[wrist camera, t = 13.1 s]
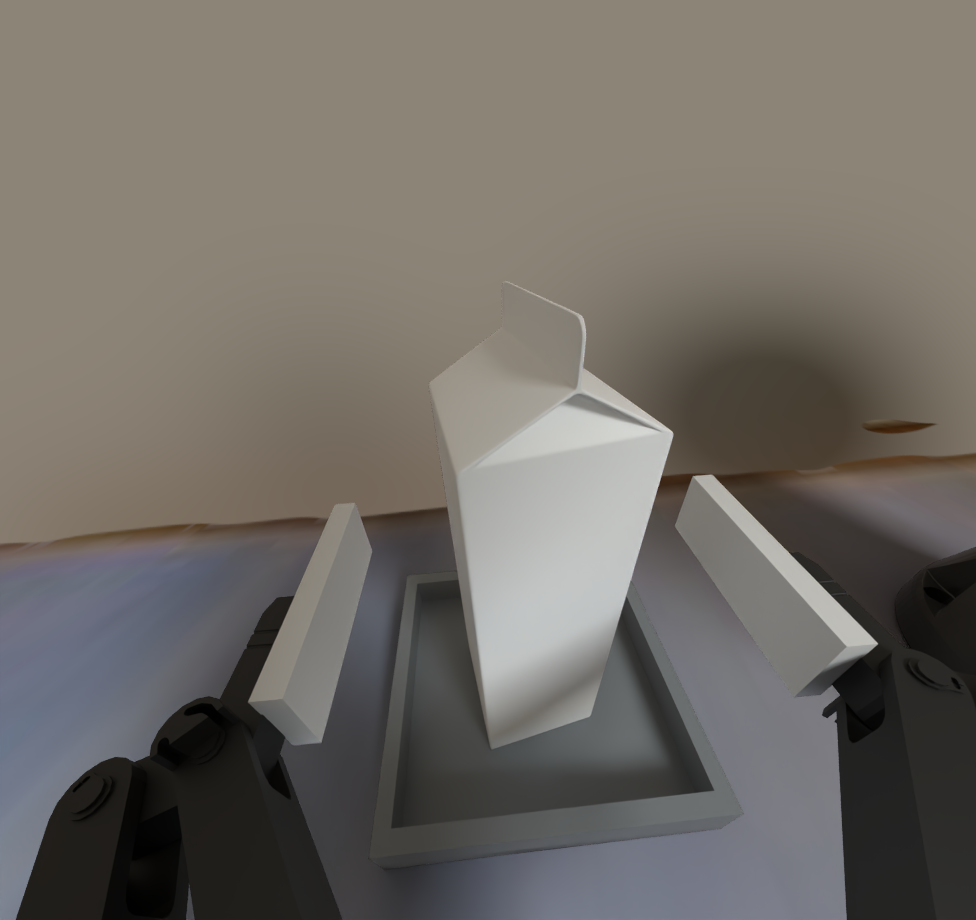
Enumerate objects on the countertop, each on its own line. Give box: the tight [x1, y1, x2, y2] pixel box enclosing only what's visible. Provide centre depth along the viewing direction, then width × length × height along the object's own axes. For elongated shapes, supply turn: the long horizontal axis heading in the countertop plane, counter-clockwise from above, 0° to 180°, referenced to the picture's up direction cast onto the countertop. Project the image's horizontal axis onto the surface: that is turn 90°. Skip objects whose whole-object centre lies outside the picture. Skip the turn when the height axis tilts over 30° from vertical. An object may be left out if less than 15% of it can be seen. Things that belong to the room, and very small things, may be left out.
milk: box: [429, 281, 673, 749], centre depth 16 cm, size 6×6×22 cm
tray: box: [369, 571, 744, 870], centre depth 21 cm, size 16×14×3 cm
